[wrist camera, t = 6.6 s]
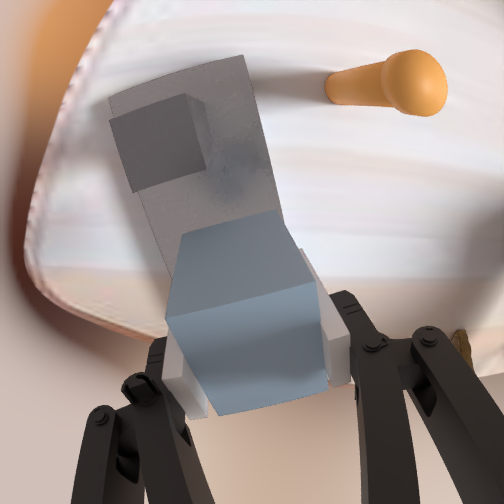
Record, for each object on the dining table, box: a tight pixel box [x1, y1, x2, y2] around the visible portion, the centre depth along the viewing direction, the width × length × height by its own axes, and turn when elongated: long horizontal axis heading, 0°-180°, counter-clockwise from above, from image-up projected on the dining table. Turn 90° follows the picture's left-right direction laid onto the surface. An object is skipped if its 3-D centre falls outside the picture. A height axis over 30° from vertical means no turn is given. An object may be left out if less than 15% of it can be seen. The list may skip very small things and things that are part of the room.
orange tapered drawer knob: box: [325, 50, 448, 117], centre depth 20 cm, size 4×4×14 cm
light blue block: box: [165, 209, 328, 416], centre depth 14 cm, size 6×5×7 cm
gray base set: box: [108, 55, 284, 279], centre depth 23 cm, size 25×12×16 cm, turn 14°
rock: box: [451, 330, 475, 373], centre depth 43 cm, size 11×9×10 cm
